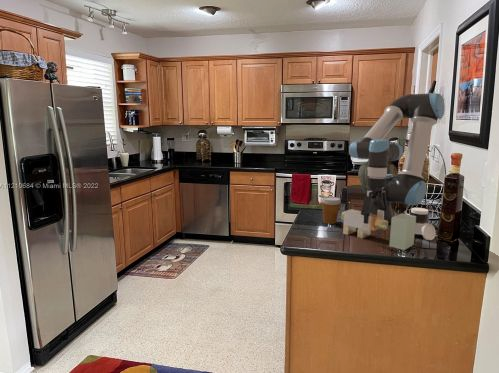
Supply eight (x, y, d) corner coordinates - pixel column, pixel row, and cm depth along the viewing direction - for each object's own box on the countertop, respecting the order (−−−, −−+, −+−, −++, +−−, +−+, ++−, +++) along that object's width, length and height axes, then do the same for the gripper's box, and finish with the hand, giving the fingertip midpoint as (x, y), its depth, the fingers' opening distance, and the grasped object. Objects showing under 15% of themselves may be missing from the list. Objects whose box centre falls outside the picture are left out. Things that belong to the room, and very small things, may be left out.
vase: (390, 200, 230) (394, 152, 224) (399, 208, 208) (403, 156, 203) (354, 198, 233) (357, 152, 227) (359, 206, 211) (362, 155, 206)
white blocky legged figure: (350, 230, 166) (351, 209, 164) (370, 235, 159) (372, 213, 157) (342, 233, 161) (343, 211, 159) (363, 238, 154) (364, 216, 152)
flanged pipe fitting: (411, 230, 166) (413, 206, 164) (438, 235, 159) (441, 210, 157) (403, 237, 157) (405, 211, 155) (431, 242, 150) (434, 215, 148)
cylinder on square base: (345, 220, 166) (346, 209, 165) (388, 230, 152) (389, 217, 151) (340, 222, 163) (340, 210, 162) (382, 232, 149) (383, 219, 148)
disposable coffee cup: (340, 220, 182) (341, 197, 180) (339, 225, 173) (340, 201, 171) (320, 218, 185) (321, 195, 183) (319, 223, 176) (320, 199, 174)
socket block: (398, 241, 151) (401, 213, 149) (413, 244, 147) (416, 216, 145) (389, 246, 145) (391, 217, 143) (404, 250, 141) (406, 220, 139)
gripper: (381, 173, 161) (377, 220, 165) (353, 179, 145) (350, 231, 149) (398, 175, 156) (394, 224, 160) (371, 181, 139) (367, 235, 143)
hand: (373, 227), depth 154 cm, fingers open, 11 cm apart
